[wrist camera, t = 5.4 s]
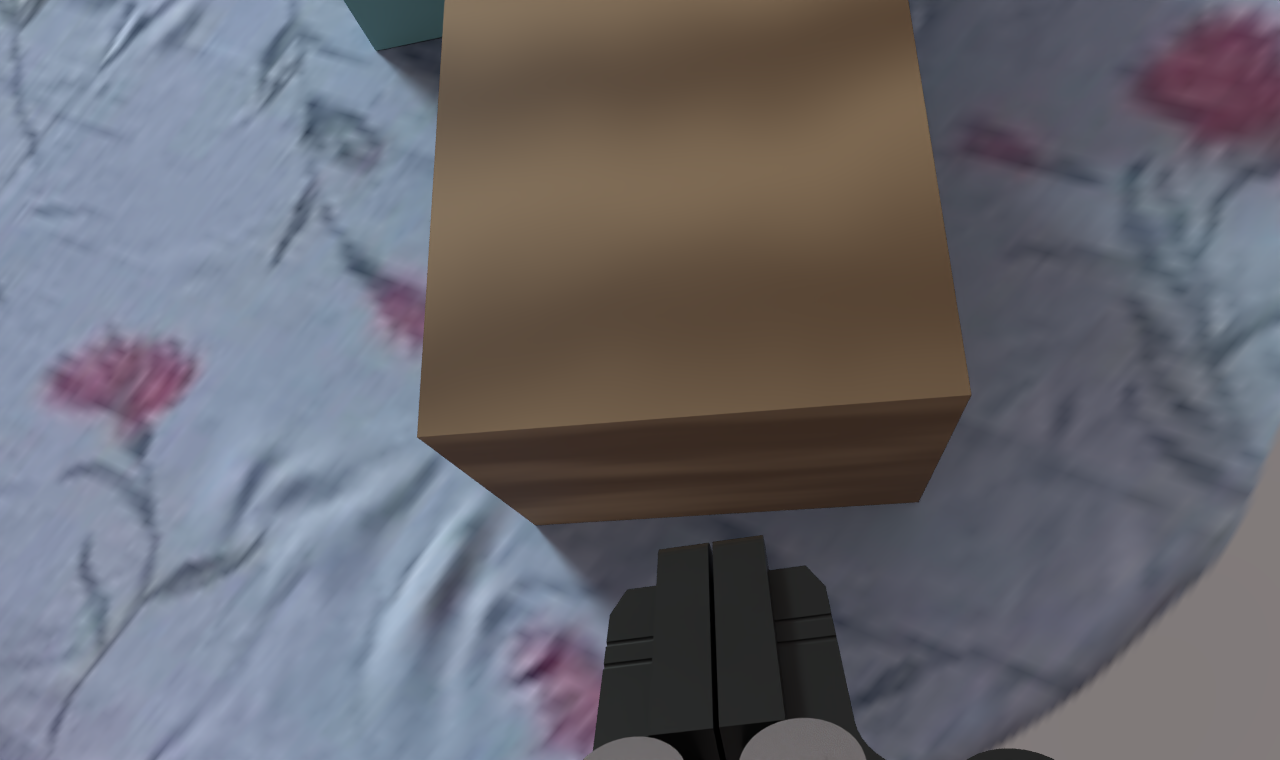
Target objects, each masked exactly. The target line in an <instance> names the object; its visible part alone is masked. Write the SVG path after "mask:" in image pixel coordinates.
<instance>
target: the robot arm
mask: <svg viewBox="0 0 1280 760" xmlns="http://www.w3.org/2000/svg"><path fill="white" fill-rule="evenodd" d="M583 760H885V759H884V758H882V757H881V756H879V755H878V754H876V753H875V752H874V751H873V750H872V749H871V748H870V747H869V746H868V745H867V744H866V743H865V741H864V740H863V739H862V737H861V736H860V734H859V732H858V730H857V727H856V724H855V721H854V716H853V712H852V707H851V702H850V698H849V693H848V688H847V684H846V679H845V675H844V670H843V665H842V661H841V656H840V651H839V647H838V642H837V638H836V633H835V628H834V624H833V619H832V615H831V610H830V605H829V600H828V596H827V591H826V587H825V585H824V584H823V583H822V582H821V581H820V580H819V579H818V578H817V577H816V576H815V575H814V574H813V573H812V572H811V571H810V570H809V569H808V568H807V567H806V566H799V567H791V568H784V569H776V570H769V567H768V561H767V555H766V549H765V544H764V539H763V535H760V536H753V537H746V538H738V539H731V540H724V541H717V542H713V555H712V550H711V547H710V544H709V543H704V544H696V545H689V546H682V547H675V548H667V549H660V550H659V552H658V565H657V583H656V586H650V587H643V588H635V589H628V590H627V591H626V592H625V594H624V595H623V596H622V598H621V599H620V601H619V602H618V604H617V605H616V607H615V608H614V610H613V611H612V613H611V614H610V619H609V627H608V635H607V647H606V651H605V659H604V669H603V675H602V683H601V691H600V699H599V707H598V715H597V723H596V731H595V739H594V747H593V752H591V753H590V754H589V755H587V756H586V757H585V758H584V759H583ZM967 760H1054V759H1052V758H1050V757H1047V756H1044V755H1042V754H1039V753H1036V752H1032V751H1027V750H1021V749H996V750H989V751H986V752H982V753H979V754H977V755H975V756H973V757H971V758H969V759H967Z"/></svg>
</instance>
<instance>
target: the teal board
mask: <svg viewBox="0 0 1280 760" xmlns="http://www.w3.org/2000/svg"><path fill="white" fill-rule="evenodd" d="M344 2H345V3H346V5H347V6H348V8H349V9H350V11H351V13H352V14H353V16H354V17H355V19H356V20H357V22H358V24H359V25H360V27H361V28H362V30H363V31H364V33H365V35H366V36H367V38H368V39H369V41H370V42H371V44H372V46H373V47H374V49H375V50H376V51H377V50H382V49H387V48H392V47H397V46H401V45H406V44H411V43H416V42H421V41H425V40H430V39H435V38H440V37H442V34H443V18H444V3H445V0H344Z"/></svg>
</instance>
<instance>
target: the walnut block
mask: <svg viewBox="0 0 1280 760" xmlns="http://www.w3.org/2000/svg"><path fill="white" fill-rule="evenodd" d="M970 397H971V389H970V383H969V377H968V371H967V364H966V358H965V352H964V346H963V339H962V333H961V327H960V321H959V314H958V308H957V302H956V296H955V289H954V283H953V277H952V271H951V264H950V258H949V252H948V246H947V239H946V233H945V227H944V221H943V214H942V208H941V202H940V196H939V189H938V183H937V177H936V171H935V165H934V158H933V152H932V146H931V140H930V133H929V127H928V121H927V115H926V108H925V102H924V96H923V90H922V83H921V77H920V71H919V65H918V58H917V52H916V46H915V40H914V33H913V27H912V21H911V15H910V8H909V2H908V0H445V3H444V18H443V34H442V50H441V66H440V82H439V98H438V114H437V130H436V146H435V162H434V178H433V193H432V209H431V225H430V241H429V257H428V273H427V289H426V305H425V321H424V337H423V353H422V368H421V384H420V400H419V416H418V432H417V437H418V438H419V439H420V440H422V441H423V442H424V443H426V444H427V445H428V446H430V447H431V448H432V449H434V450H435V451H436V452H438V453H439V454H440V455H442V456H443V457H444V458H446V459H447V460H448V461H450V462H451V463H452V464H454V465H455V466H456V467H458V468H459V469H460V470H462V471H463V472H465V473H466V474H467V475H469V476H470V477H471V478H473V479H474V480H475V481H477V482H478V483H479V484H481V485H482V486H483V487H485V488H486V489H487V490H489V491H490V492H491V493H493V494H494V495H495V496H497V497H498V498H499V499H501V500H502V501H503V502H505V503H506V504H507V505H509V506H510V507H511V508H513V509H514V510H516V511H517V512H518V513H520V514H521V515H522V516H524V517H525V518H526V519H528V520H529V521H530V522H532V523H533V524H534V525H549V524H566V523H583V522H599V521H616V520H632V519H649V518H665V517H682V516H698V515H715V514H732V513H748V512H765V511H781V510H798V509H814V508H831V507H847V506H864V505H881V504H897V503H914V502H919V500H920V498H921V496H922V494H923V492H924V490H925V488H926V486H927V484H928V482H929V480H930V478H931V476H932V474H933V472H934V470H935V468H936V466H937V464H938V462H939V460H940V458H941V456H942V454H943V452H944V450H945V448H946V446H947V444H948V441H949V439H950V437H951V435H952V433H953V431H954V429H955V427H956V425H957V423H958V421H959V419H960V417H961V415H962V413H963V411H964V409H965V407H966V405H967V403H968V401H969V399H970Z"/></svg>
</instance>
